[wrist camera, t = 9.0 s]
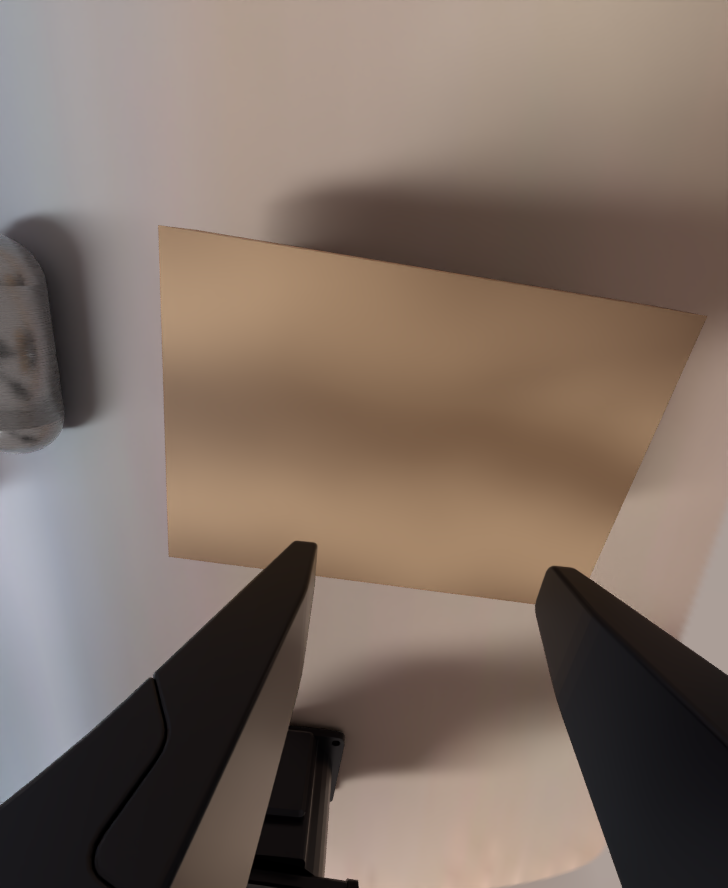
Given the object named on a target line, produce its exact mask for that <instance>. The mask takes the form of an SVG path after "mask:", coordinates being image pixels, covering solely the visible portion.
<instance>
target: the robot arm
mask: <svg viewBox="0 0 728 888" xmlns="http://www.w3.org/2000/svg"><path fill="white" fill-rule="evenodd" d="M317 550H318V546H317V544H316V543H315V542H307V541H294V542H292V543H291V544H290V545H289V546H288V547H287V548H286V549H285V550H284V551H283V552H282V553H280V554H279V555H278V556H277V557H276V558H275V559H274V560H273V561H272V562H271V563H270V564H269V565H268V566H267V567H266V568H265V569H264V570H263V571H261V572H260V573H259V574H258V575H257V576H256V577H255V578H254V579H253V580H252V581H251V582H250V583H249V584H248V585H247V586H246V587H245V588H244V589H242V590H241V591H240V592H239V593H238V594H237V595H236V596H235V597H234V598H233V599H232V600H231V601H230V602H229V603H228V604H227V605H226V606H225V607H223V608H222V609H221V610H220V611H219V612H218V613H217V614H216V615H215V616H214V617H213V618H212V619H211V620H210V621H209V622H208V623H207V624H205V625H204V626H203V627H202V628H201V629H200V630H199V631H198V632H197V633H196V634H195V635H194V636H193V637H192V638H191V639H190V640H189V641H188V642H186V643H185V644H184V645H183V646H182V647H181V648H180V649H179V650H178V651H177V652H176V653H175V654H174V655H173V656H172V657H171V658H170V659H169V660H167V661H166V662H165V663H164V664H163V665H162V666H161V667H160V668H159V669H158V670H157V671H156V672H155V673H154V675H153V678H148V679H147V680H146V681H145V682H144V683H143V684H142V685H141V686H140V687H139V688H138V689H136V690H135V691H134V692H133V693H132V694H131V695H130V696H129V697H128V698H127V699H126V700H125V701H124V702H123V703H121V704H120V705H119V706H118V707H117V708H116V709H115V710H114V711H113V712H111V713H110V714H109V715H108V716H107V717H106V718H105V719H104V720H103V721H101V722H100V723H99V724H98V725H97V726H96V727H95V728H94V729H93V730H92V731H90V732H89V733H88V734H87V735H86V736H85V737H83V738H82V739H81V740H80V741H79V742H77V743H76V744H75V745H74V746H73V747H71V748H70V749H69V750H68V751H67V752H65V753H64V754H63V755H62V756H61V757H59V758H58V759H57V760H56V761H55V762H53V763H52V764H51V765H50V766H49V767H47V768H46V769H45V770H44V771H42V772H41V773H40V774H39V775H38V776H36V777H35V778H34V779H33V780H31V781H30V782H29V783H28V784H26V785H25V786H24V787H23V788H21V789H20V790H19V791H18V792H16V793H15V794H14V795H13V796H11V797H10V798H9V799H8V800H6V801H5V802H4V803H3V804H1V805H0V888H359V886H358V880H353V879H347V880H346V881H343V880H337V879H330V878H324V873H325V859H326V846H327V832H328V818H329V804H330V802H331V801H332V800H333V796H334V791H335V786H336V781H337V777H338V772H339V767H340V762H341V758H342V753H343V748H344V740H345V736H344V734H343V733H342V732H339V731H333V730H324V729H315V728H306V727H297V726H289V724H290V720H291V716H292V712H293V708H294V705H295V701H296V697H297V693H298V689H299V685H300V681H301V676H302V670H303V664H304V658H305V651H306V644H307V637H308V629H309V622H310V615H311V608H312V601H313V594H314V586H315V575H316V563H317ZM535 613H536V618H537V622H538V626H539V630H540V635H541V639H542V643H543V647H544V651H545V655H546V659H547V664H548V668H549V672H550V676H551V680H552V684H553V688H554V692H555V695H556V699H557V702H558V705H559V708H560V711H561V715H562V717H563V720H564V723H565V726H566V729H567V732H568V735H569V737H570V740H571V743H572V746H573V749H574V752H575V754H576V757H577V760H578V763H579V766H580V769H581V771H582V774H583V777H584V780H585V783H586V786H587V789H588V791H589V794H590V797H591V800H592V803H593V806H594V808H595V811H596V814H597V817H598V820H599V823H600V826H601V828H602V831H603V834H604V837H605V840H606V843H607V845H608V848H609V851H610V854H611V857H612V860H613V863H614V865H615V868H616V871H617V874H618V877H619V879H620V882H621V885H622V888H728V675H727V674H725V673H724V672H722V671H721V670H719V669H718V668H717V667H715V666H714V665H712V664H711V663H709V662H708V661H707V660H705V659H704V658H702V657H701V656H699V655H698V654H696V653H695V652H694V651H692V650H691V649H689V648H688V647H687V646H685V645H684V644H682V643H681V642H679V641H678V640H677V639H675V638H674V637H672V636H671V635H669V634H668V633H667V632H665V631H664V630H662V629H661V628H659V627H658V626H657V625H655V624H654V623H652V622H651V621H649V620H648V619H647V618H645V617H644V616H642V615H641V614H639V613H638V612H637V611H635V610H634V609H632V608H631V607H629V606H628V605H627V604H625V603H624V602H622V601H621V600H619V599H618V598H617V597H615V596H614V595H612V594H611V593H609V592H608V591H607V590H605V589H604V588H602V587H601V586H599V585H598V584H597V583H595V582H594V581H592V580H591V579H589V578H588V577H587V576H585V575H584V574H582V573H581V572H579V571H578V570H576V569H575V568H572V567H563V566H551V567H549V568H548V569H547V571H546V573H545V576H544V578H543V581H542V584H541V587H540V590H539V593H538V596H537V599H536V603H535Z"/></svg>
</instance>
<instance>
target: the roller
mask: <svg viewBox="0 0 728 888" xmlns="http://www.w3.org/2000/svg"><path fill="white" fill-rule="evenodd" d="M63 424H64V406H63V399H62V392H61V384H60V377H59V370H58V363H57V356H56V348H55V341H54V334H53V327H52V320H51V312H50V305H49V298H48V291H47V283H46V279H45V275H44V272H43V270H42V268H41V266H40V264H39V263H38V261H37V260H36V259H35V257H34V256H33V255H32V254H31V253H30V252H29V251H28V250H27V249H26V248H24V247H23V246H22V245H20V244H19V243H18V242H16V241H14V240H12V239H10V238H9V237H7V236H4V235H1V234H0V452H3V453H9V454H26V453H31V452H34V451H37V450H40V449H42V448H44V447H46V446H47V445H49V444H50V443H52V442H53V441H54V440H55V439H56V438H57V437H58V435H59V434H60V432H61V430H62V428H63Z"/></svg>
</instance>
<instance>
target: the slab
mask: <svg viewBox="0 0 728 888" xmlns="http://www.w3.org/2000/svg"><path fill="white" fill-rule="evenodd" d="M158 232H159V264H160V295H161V327H162V359H163V391H164V423H165V455H166V487H167V518H168V550H169V557H175V558H183V559H191V560H199V561H206V562H214V563H222V564H229V565H237V566H245V567H252V568H260V569H265V568H266V567H267V566H268V565H269V564H270V563H271V562H272V561H273V560H274V559H275V558H276V557H277V556H278V555H279V554H280V553H282V552H283V551H284V550H285V549H286V548H287V547H288V546H289V545H290V544H291V543H292V542H294V541H307V542H315V543H316V544H317V546H318V550H317V563H316V575H315V576H321V577H329V578H337V579H345V580H352V581H360V582H368V583H375V584H383V585H391V586H398V587H406V588H414V589H421V590H429V591H437V592H444V593H452V594H460V595H467V596H475V597H483V598H490V599H498V600H506V601H514V602H521V603H529V604H535V603H536V599H537V596H538V593H539V590H540V587H541V584H542V581H543V578H544V576H545V573H546V571H547V569H548V568H549V567H551V566H563V567H572V568H575V569H576V570H578V571H579V572H581V573H582V574H584V575H585V576H587V577H588V578H589V577H590V575H591V573H592V571H593V568H594V566H595V564H596V562H597V560H598V557H599V555H600V553H601V551H602V548H603V546H604V544H605V542H606V540H607V537H608V535H609V533H610V531H611V529H612V526H613V524H614V522H615V520H616V517H617V515H618V513H619V511H620V509H621V506H622V504H623V502H624V500H625V498H626V495H627V493H628V491H629V489H630V486H631V484H632V482H633V480H634V478H635V475H636V473H637V471H638V469H639V466H640V464H641V462H642V460H643V458H644V455H645V453H646V451H647V449H648V447H649V444H650V442H651V440H652V438H653V435H654V433H655V431H656V429H657V427H658V424H659V422H660V420H661V418H662V415H663V413H664V411H665V409H666V407H667V404H668V402H669V400H670V398H671V396H672V393H673V391H674V389H675V387H676V384H677V382H678V380H679V378H680V376H681V373H682V371H683V369H684V367H685V365H686V362H687V360H688V358H689V356H690V353H691V351H692V349H693V347H694V345H695V342H696V340H697V338H698V336H699V333H700V331H701V329H702V327H703V325H704V322H705V320H706V318H707V316H703V315H698V314H693V313H688V312H683V311H677V310H672V309H667V308H662V307H657V306H651V305H645V304H639V303H633V302H627V301H621V300H615V299H609V298H603V297H597V296H591V295H585V294H579V293H573V292H567V291H561V290H555V289H549V288H543V287H537V286H531V285H525V284H519V283H513V282H507V281H501V280H495V279H489V278H483V277H477V276H471V275H465V274H459V273H452V272H446V271H440V270H434V269H428V268H422V267H416V266H410V265H404V264H398V263H392V262H386V261H380V260H374V259H368V258H362V257H356V256H350V255H344V254H338V253H332V252H326V251H320V250H314V249H308V248H302V247H296V246H290V245H284V244H278V243H272V242H266V241H259V240H253V239H247V238H241V237H235V236H229V235H223V234H217V233H211V232H205V231H199V230H192V229H184V228H176V227H168V226H160V225H158Z"/></svg>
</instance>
